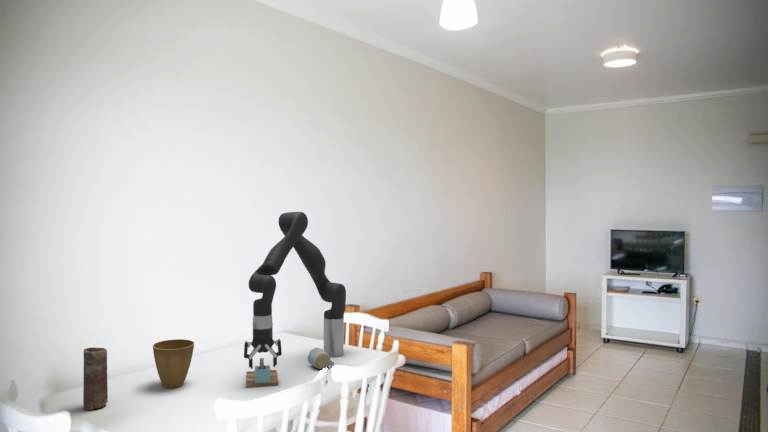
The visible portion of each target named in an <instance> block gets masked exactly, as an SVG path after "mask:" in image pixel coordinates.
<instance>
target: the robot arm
mask: <svg viewBox="0 0 768 432" xmlns="http://www.w3.org/2000/svg"><path fill="white" fill-rule="evenodd" d="M308 225H309V220H308V216H307V214H306V213H305V212H303V211H292V212H291V211H290V212H289V211H288V212H283V213H281V214H280V215H279V217H278V226H279V229H280V231H281V232H282V234H283V235H284V237H283V238H281V239H280V241H278V242H276V244H275V245H274V246H273V247H272V248H271V249H269V252H268V253H267V255H266V257H265V259H264V261H263V263H262V264H260V266H259V267H258V268H257V269H256V270H255V271H254V272H253V274H252V275H251V276H250V277H249V280H248V289H249V290H250V291H251V292H252V293H257V294H259V293H260V294H262V296H261V298H256V299H255V300H254V301H253V302H252V303H253V305H252V307H253V308H252V313H253V315H252V340H251V341H247V340H245V341H244V346H243V347H244V348H243V357H244V359H248V367H249V368H250V369H251V370H253V368H254V366H253V364H254V363H253V358H254V356H255V355H256V354H257V353H259V354H260V353H261V354H262V353H268V352H269V353H270V354H271V356H272V367H273V368H275V367H276V366H277V365H278V357H280V356H282V354H283V353H282V342H281V341H282V340H281V339H280V338H278V339H276V340H274V338H273V337H274V335H273V334H274V332H273V329H274V328H273V326H274V323H273V313H272V312H273V307H272V306H273V305H272V304H273V301H274V295H275V292H276V289H277V282H276V279H275V277H274V276H276V275H277V274H278V273H280V270H281V268H282V266H283V265H284V262H285V261H286V258H287V257H288V255H289V253H290V252H291V250H292V249H293V248H294V251H295V252H296V254H297V255H298V258H300V260H301V262H302V264H303V266H304V268H305V269H306V271H307V273H308V274H309V276H310V277H311V279H312V281H313V283H314V286H315V287H316V290H317V292H318V294H319V297H320V298H321V300H322V301H324V302H326V303H330V304H331V307H330V308H329V309H327V310H324V312H323V351H324V352H326V353H327V354H328V355H329V357H330V358H331V357H332V358H338V357H341V356H344V340H345V339H344V337H345V336H344V333H345V331H344V330H345V328H344V326H345V325H344V323H345V321H344V320H345V318H344V315H345V313H346V303H347V302H346V301H347V290H346V287H345V285H344V284H342V283H337V282H331V281H330V280H329V278H328V277H327V274H326V264H327V263H326V259H325V258H324V255H323V253H322V252H321V250H320V248H318V246H317V245H315V243H313V242H311V241H310V240H309V239H307V238H306V237H305V236H304V233H305V232H306V230H307V228H308ZM274 345H275V346H276V347H277V352H276V351H275V350H274V348H273V346H274ZM250 347H252V348H253V349H252V350H251V352H250V353H248V349H249V348H250Z"/></svg>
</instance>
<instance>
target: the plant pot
mask: <svg viewBox="0 0 768 432" xmlns="http://www.w3.org/2000/svg"><path fill="white" fill-rule="evenodd" d="M194 347H195V341H193V340H191V339H190V340H189V339H182V338H178V339H177V338H176V339H167V340H162V341H161V340H160V341H158V342H155V343H153V344H152V351H153V358H154V363H155V367H156V368H155V369H156V371H157V374H158V377H159V379H160V383H161V385H162V387H163V388H165V387H166V389H176V388H175V387H177V388H180V387H183V385H185V384H184V383H185V381H186V378H187V375H188V374H189V369H190V366H191V364H192V359H193V353H194ZM179 386H180V387H179Z"/></svg>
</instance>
